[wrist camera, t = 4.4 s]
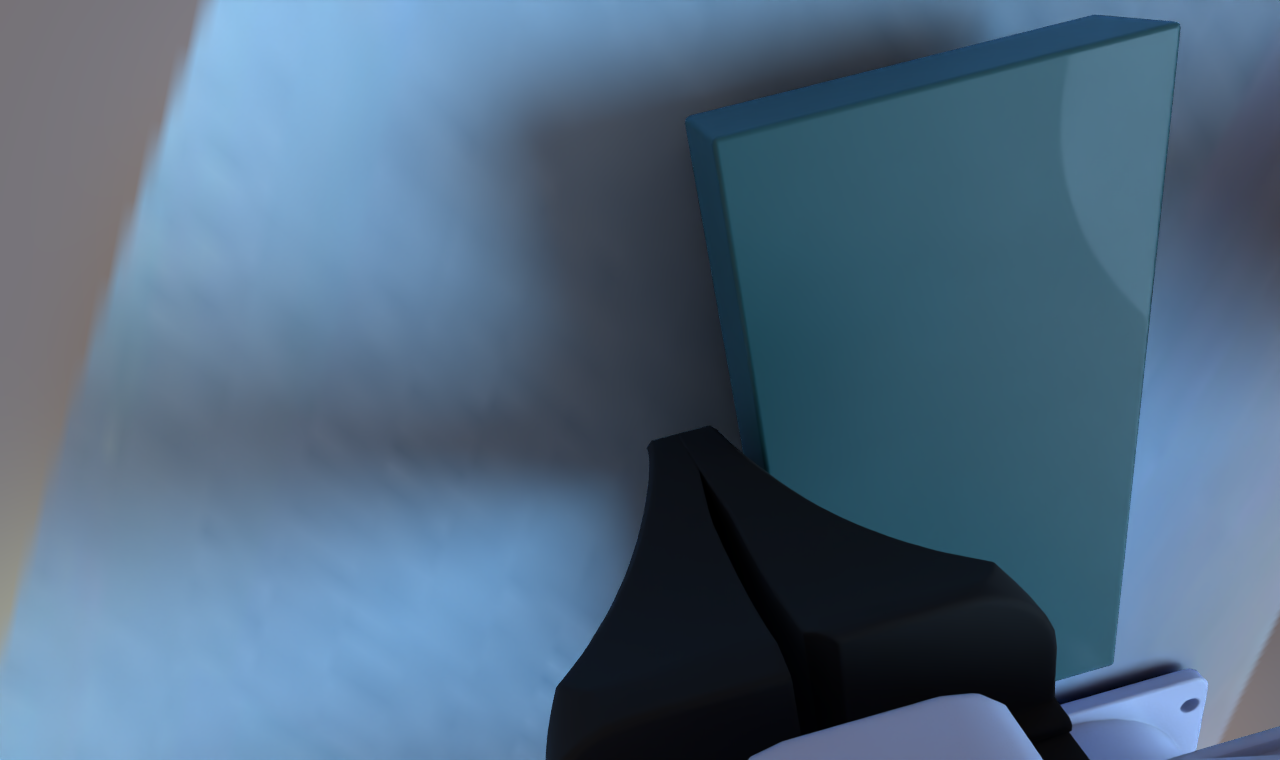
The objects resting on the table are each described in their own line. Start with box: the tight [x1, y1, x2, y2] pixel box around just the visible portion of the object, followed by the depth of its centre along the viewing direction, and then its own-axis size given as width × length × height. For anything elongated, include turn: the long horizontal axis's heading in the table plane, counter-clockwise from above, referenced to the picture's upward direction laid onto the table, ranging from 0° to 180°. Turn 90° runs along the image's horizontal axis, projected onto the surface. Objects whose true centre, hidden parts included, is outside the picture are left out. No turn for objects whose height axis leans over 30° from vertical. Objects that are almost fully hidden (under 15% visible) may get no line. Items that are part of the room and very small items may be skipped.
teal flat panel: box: [685, 15, 1180, 681], centre depth 15 cm, size 12×6×3 cm, turn 12°
